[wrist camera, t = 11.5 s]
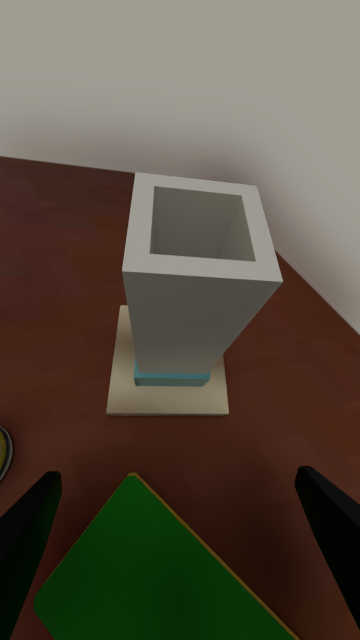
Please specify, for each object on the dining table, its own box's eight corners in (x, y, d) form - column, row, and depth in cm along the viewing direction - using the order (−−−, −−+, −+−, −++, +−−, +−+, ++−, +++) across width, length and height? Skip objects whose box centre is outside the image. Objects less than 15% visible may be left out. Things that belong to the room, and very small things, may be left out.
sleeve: (202, 386, 18) (295, 290, 7) (135, 385, 17) (109, 279, 6) (199, 327, 20) (262, 181, 9) (140, 324, 20) (128, 166, 8)
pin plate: (223, 415, 19) (243, 408, 15) (109, 415, 18) (97, 407, 14) (214, 318, 23) (228, 292, 19) (122, 313, 22) (116, 285, 18)
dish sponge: (132, 467, 17) (130, 471, 14) (302, 640, 14) (330, 677, 11) (47, 579, 14) (27, 605, 11) (240, 833, 11) (263, 931, 8)
